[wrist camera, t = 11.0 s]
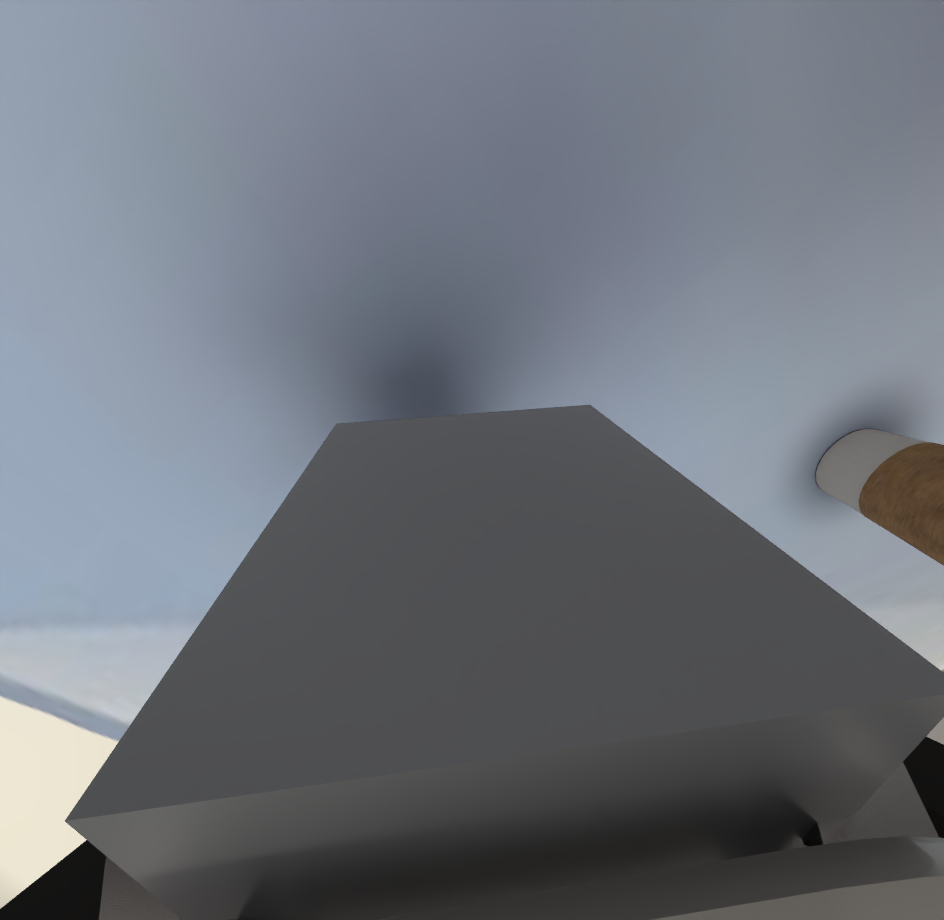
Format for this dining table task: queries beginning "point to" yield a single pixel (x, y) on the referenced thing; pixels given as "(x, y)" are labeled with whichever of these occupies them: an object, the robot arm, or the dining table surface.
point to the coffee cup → (890, 484)
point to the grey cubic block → (497, 685)
